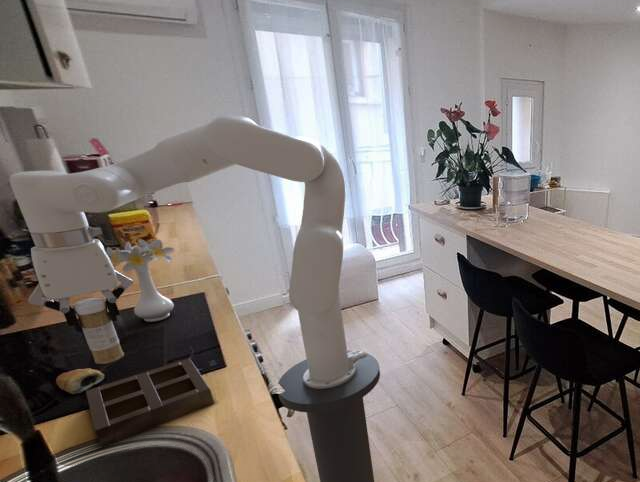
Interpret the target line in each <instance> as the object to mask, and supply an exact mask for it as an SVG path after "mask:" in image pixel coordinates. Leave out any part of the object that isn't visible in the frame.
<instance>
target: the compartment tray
mask: <svg viewBox="0 0 640 482" xmlns="http://www.w3.org/2000/svg"><path fill="white" fill-rule="evenodd" d="M85 393H86V397H87V402H88V407H89V411H90V415H91V420H92V423H93V428H94V432H95V434H96V436H97V440H98V441H99V444H100V447H103V448H104V447H105V446H108V445H111V444H113V443H116V442H118V441H121V440H124V439H126V438H128V437H131V436H134V435H136V434H139V433H142V432H144V431H146V430H149V429H152V428H154V427H157V426H160V425H161V424H165V423H167V422H170V421H173V420H174V419H177V418H180V417H182V416H184V415H187V414H190V413H192V412H195V411H197V410H200V409H203V408H205V407H207V406H210V405H213V404H215V401H214V399H213V394H212V391H211V387H210V386H209V385H208V383H207V382H206V381H205V379H204V377H203V376H202V374H201V373H200V371H199V370H198V368H197V367H196V366H195V364H194V362H193V361H192V359H191V358H190V357H189V358H186V359H182V360H179V361H176V362H172V363H170V364H166V365H163V366H161V367H156V368H153V369H151V370H147V371H144V372H141V373H138V374H135V375H132V376H129V377H125V378H122V379H118V380H115V381H112V382H110V383H106V384H103V385H99V386H97V387H93V388H89V389H87V390H85Z"/></svg>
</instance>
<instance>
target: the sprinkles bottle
mask: <svg viewBox="0 0 640 482" xmlns="http://www.w3.org/2000/svg"><path fill="white" fill-rule="evenodd" d="M105 301H106V299H105V298H102V297H93V298H87V299H83V300H80V301H77V302H74V304H72V308H73V309H74V312H75V314H76V316H77V319H78V321H79V324H80V327H81V330H82V332H83V334H84V335H83V336H84V337H85V340H86V343H87V345H88V348H89V350H90V351H91V354H92V356H93V360H94V363H95V364H97V365H105V364H110V363H115V362H117V361H119V360H120V359H122V358H123V357H124V356H125V352H124V351H123V349H122V346H121V344H120V338H119V337H118V334H117V331H116V329H115V325H114V321H112V319H111V316H110V314H109V311H108V308H107V305H106V302H105Z"/></svg>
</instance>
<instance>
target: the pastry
mask: <svg viewBox="0 0 640 482" xmlns="http://www.w3.org/2000/svg"><path fill="white" fill-rule="evenodd" d="M104 379H105V374H104V373H102V372H101V371H100V370H98V369H94V368H93V369H92V368H91V367H89V368H88V367H87V368H77V369H73V370H70V371H67V372H62V373H61V374H59V375H58V376H57V377H56V379H55V382H56V385H57V386H58V388H59V389H61V390H62V391H65V392H66V393H69V394H71V395H75V394H81V393H83V392H86V391H87V390H90V389H92V387H94V386H96V385H98V384H100V383H102V382H103V381H104Z"/></svg>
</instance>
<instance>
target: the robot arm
mask: <svg viewBox="0 0 640 482" xmlns="http://www.w3.org/2000/svg"><path fill="white" fill-rule="evenodd" d="M235 165H238V166H241V167H243V168H247V169H249V170H253V171H257V172H260V173H264V174H267V175H271V176H274V177H277V178H281V179H284V180H289V181H292V182H297V183H304V195H303V209H302V216H301V223H300V227H299V230H298V232H297V235H296V238H295V240H294V246H293V252H292V262H291V271H290V278H289V279H290V281H289V288H288V289H289V290H288V299H289V301H290V303H291V306H292V307H293V308H294V309H295V310H296V311H297V315H298V319H299V325H300V330H301V331H300V332H301V336H302V342H303V347H304V353H305V357H306V358H305V359H307V364H308V370H307V371H306V372H305V373H304V375H303V380H304V383H305V385H307V386H308V387H311V388H315V389H326V388H332V387H335V386H338V385H341V384H343V383H345V382H347V381H348V380H350V379H351V378H352V377H353V376H354V375H355V373H356V365H355V363H356V361H357V360H359V359H362V358H365V357H366V356H367V355H366V353H367V352H366V351H365V350H361V351H360V352H359V353H357V351H358V350H356V349H354V350H351V352H349V353H347V350H348V348H347V341H346V333H345V326H344V319H343V312H342V311H343V310H342V304H341V297H340V289H339V288H340V287H339V286H340V280H341V272H342V264H343V257H344V236H343V227H344V226H343V225H344V218H345V207H346V197H347V185H346V179H345V174H344V172H343V168H342V167H341V165H340V163H339V162H338V160H337V158H336V157H335V156H334V155H333V154H332V153H331V152H330V151H329V150H328V148H326V147H325V146H323V145H322V144H320V143H319V142H318V141H316V140H314V139H312V138H311V137H306V136H305V137H304V136H295V137H294V136H291V135H288V134H286V133H285V134H284V133H282V132H279V131H276V130H272V129H269V128H268V127H267V128H266V127H264V126H261V125H258V124H257V123H256V122H255V121H253V120H252V119H251V118H249V117H246V116H243V115H238V114H237V115H235V114H233V115H222V116H218V117H216V118H214V119H213V120H211V121H210V122H209V123H206V124H203V125H201V126H199V127H196V128H192V129H189V130H187V131H184V132H181V133H178V134H175V135H173V136H169V137H167V138H164V139H162V140H161V141H158V142H157V144H156V145H155V146H154V147H153V148H151V149H149V150H147V151H144V152H142V153H140V154H137V155H134V156H132V157H129V158H126V159H122V160H120V161H117V162H115V163H112V164H109V165H106V166H102V167H97V168H93V169H88V170H83V171H78V172H72V173H67V172H64V171H60V170H28V171H27V170H26V171H21V172H15V173H13V174H11V176H10V177H9V184H10V187H11V189H12V192H13V194H14V197H15V199H16V201H17V205H18V207H19V209H20V212H21V214H22V216H23V219H24V221H25V224H26V226H27V228H28V231H29V233H30V236H31V239H32V241H33V244H34V246H33V247H31V248H30V252H31V253H30V254H31V255H30V257H31V261H32V265H33V267H34V268H33V269H34V272H35V275H36V278H37V280H38V284H37V285H36V287H35V288H34V290H33V292H32V293H31V294H30V296H29V297H28V299H27V301H28V303H29V304H31V305H35V306H40V307H46V308H47V309H51V310H54V311H57V312H60V313H62V314H63V315H64V319H65V321H66V323H67V326H68V327H74V329H75V331H79V330H82V326H81V323H80V321H79V318H78V316H77V314H75V312H74V309H73V306H71V304H70V298H72V297H79V296H84V295H88V294H89V295H90V294H94V293H99V292H100V293H101V295H103V296H104V298H105V302H106V305H107V311H108V313H109V316H110V318H111V320H112V322H117V321H118V318H117V316H120V315H121V313H120V310H119V308H118V304H117V301H118V300H119V298H120V297H121V296H122V295H123V294H124V293H125V291H126V290H128V288H130V287H131V286H132V285H134V281H133V279H132V278H130V277H128V276H126V275H125V274H123V273H122V272H119V271H117V270H116V269H115V267H114V268H113V265H112V263H111V261H110V258H109V257H110V256H109V255H108V254H107V251H106V247H105V246H104V245H103V242H101V240H100V239H98V238H96V237H97V236H98V235H104V233H103V231H102V228H101V227H93V226H90V225H89V222H88V219H87V216H86V213H95V214H97V213H99V214H100V213H107V212H110V211H112V210H116V209H118V208H120V207H122V206H124V205H126V204H129V203H131V202H134V201H136V200H139V199H141V198H144V197H146V196H148V195H151V194H154V193H156V192H159V191H161V190H164V189H166V188H167V189H168V188H169V187H173V186H176V185H178V184H182V183H183V184H184V183H191V182H194V181H197V180H199V179H202V178H205V177H208V176H209V175H212V174H215V173H217V172H220V171H222V170H225V169H228V168H230V167H232V166H235ZM119 282H120V283H119ZM43 296H45V297H46V298H45V297H43ZM57 300H58V301H57Z"/></svg>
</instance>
